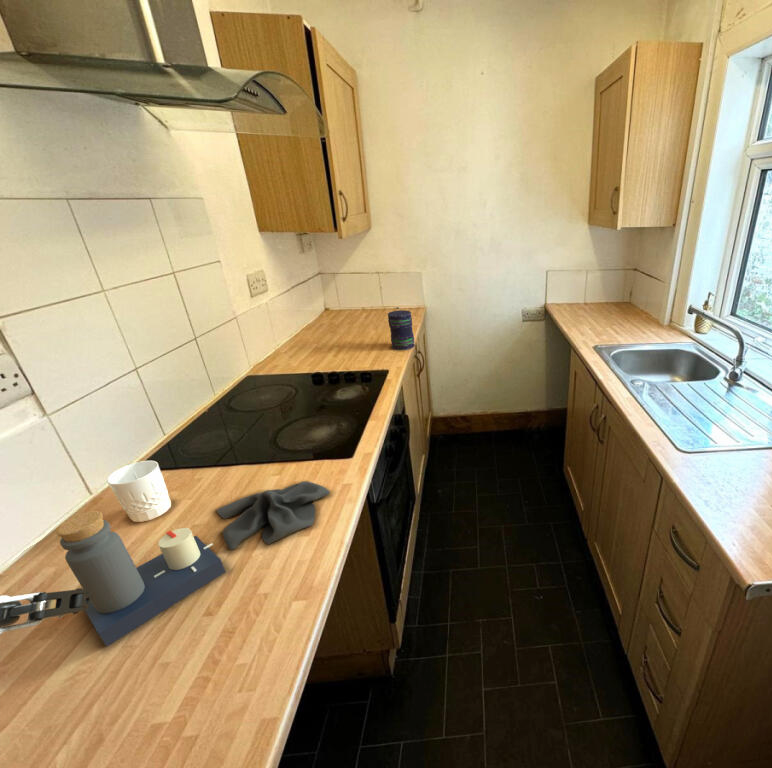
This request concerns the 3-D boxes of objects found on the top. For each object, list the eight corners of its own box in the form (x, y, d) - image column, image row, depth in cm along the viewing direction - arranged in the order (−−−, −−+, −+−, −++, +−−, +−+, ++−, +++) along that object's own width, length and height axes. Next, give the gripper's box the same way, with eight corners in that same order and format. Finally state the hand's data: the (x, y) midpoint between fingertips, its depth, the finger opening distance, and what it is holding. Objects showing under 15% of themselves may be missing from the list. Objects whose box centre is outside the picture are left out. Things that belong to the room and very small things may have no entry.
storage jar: (393, 343, 187) (388, 303, 179) (415, 342, 188) (411, 302, 180) (390, 350, 178) (384, 309, 170) (413, 349, 178) (408, 308, 171)
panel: (106, 647, 60) (97, 632, 59) (86, 612, 65) (77, 598, 64) (230, 568, 73) (225, 555, 72) (205, 544, 78) (200, 531, 77)
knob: (205, 555, 72) (195, 532, 70) (176, 574, 68) (165, 550, 66) (192, 546, 74) (182, 523, 72) (163, 563, 70) (152, 539, 68)
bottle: (143, 575, 68) (105, 502, 62) (147, 596, 64) (108, 522, 58) (94, 597, 64) (50, 522, 58) (96, 621, 61) (49, 544, 55)
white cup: (173, 514, 86) (156, 474, 82) (124, 530, 82) (103, 489, 78) (175, 494, 92) (159, 456, 88) (129, 508, 88) (110, 468, 84)
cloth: (335, 479, 96) (329, 457, 93) (315, 539, 79) (309, 513, 77) (229, 492, 92) (221, 469, 90) (185, 557, 75) (174, 531, 73)
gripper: (-241, 709, 34) (-38, 662, 48) (-15, 658, 37) (109, 628, 52) (-207, 607, 36) (-24, 591, 51) (1, 568, 40) (116, 564, 54)
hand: (43, 610), depth 51 cm, fingers open, 8 cm apart
